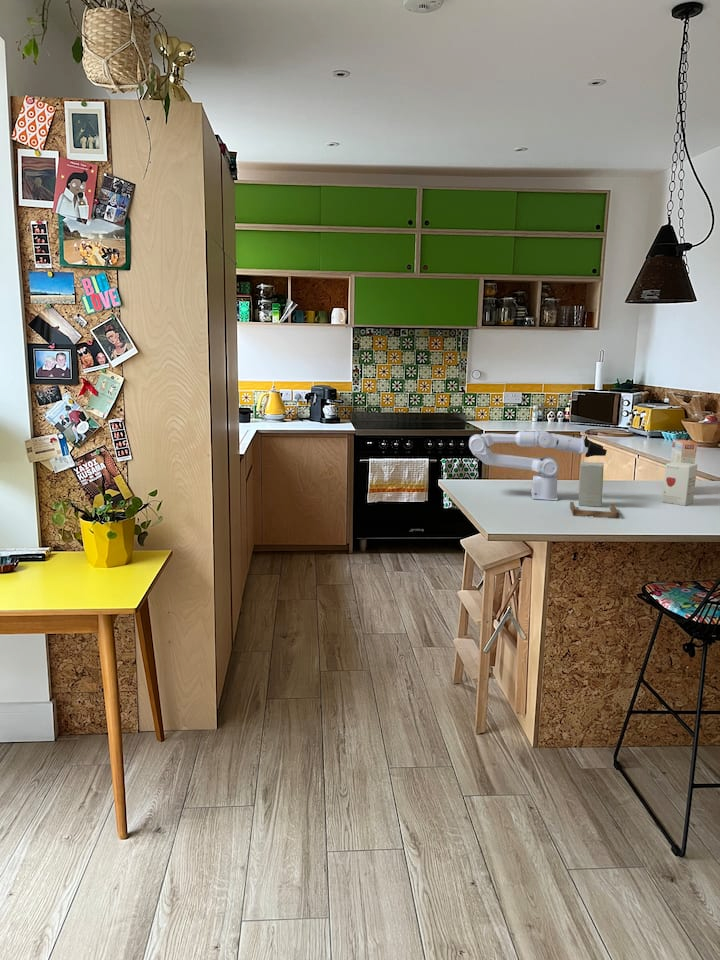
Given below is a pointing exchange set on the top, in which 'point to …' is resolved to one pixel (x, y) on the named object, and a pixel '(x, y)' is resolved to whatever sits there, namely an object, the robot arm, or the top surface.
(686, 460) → the cracker box
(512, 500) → the top surface
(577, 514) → the walnut bay
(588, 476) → the skincare box
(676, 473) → the supplement box
